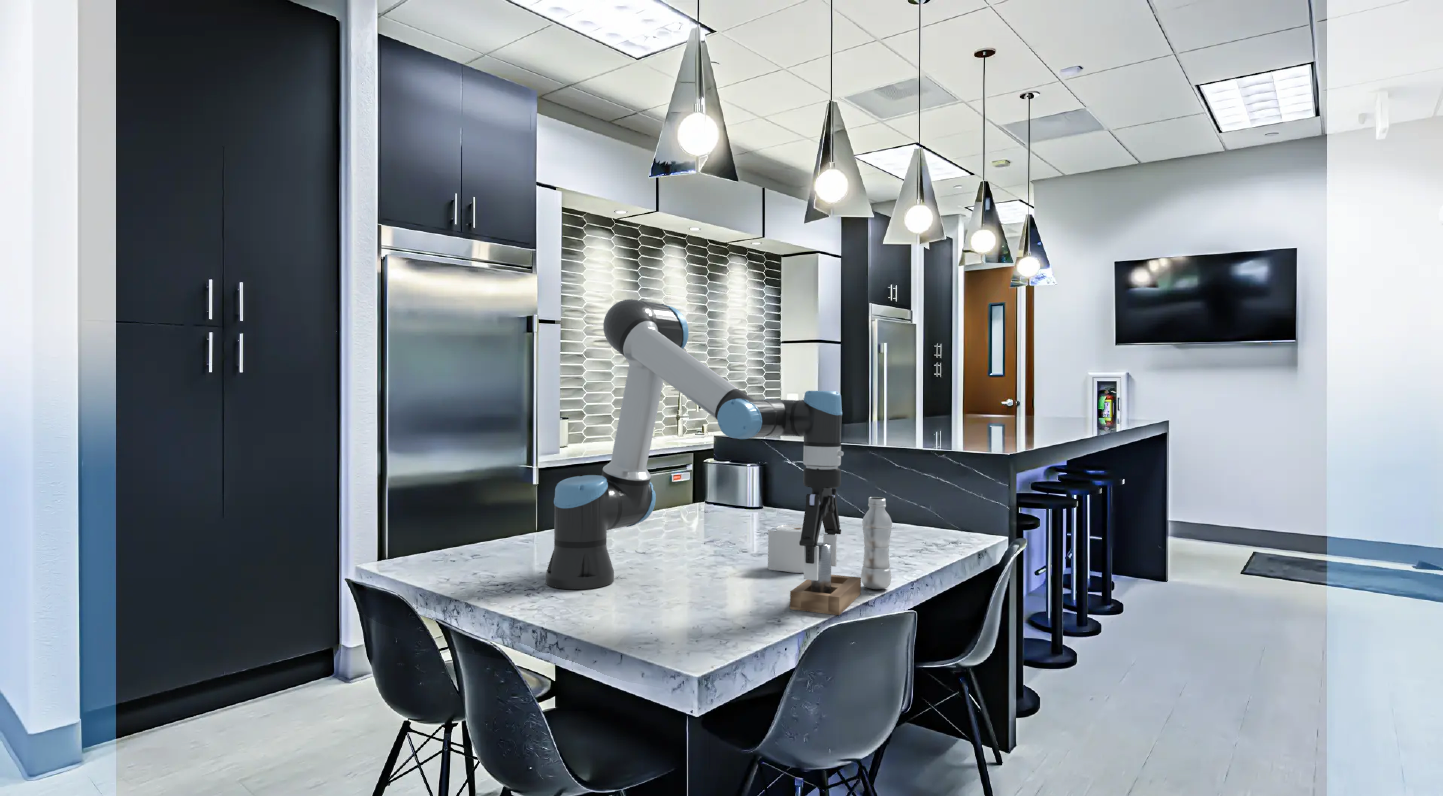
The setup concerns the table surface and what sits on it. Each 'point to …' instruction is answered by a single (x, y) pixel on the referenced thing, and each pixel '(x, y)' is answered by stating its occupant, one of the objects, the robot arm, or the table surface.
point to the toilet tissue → (786, 549)
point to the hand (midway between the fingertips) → (820, 572)
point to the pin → (823, 570)
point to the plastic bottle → (876, 545)
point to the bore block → (826, 596)
